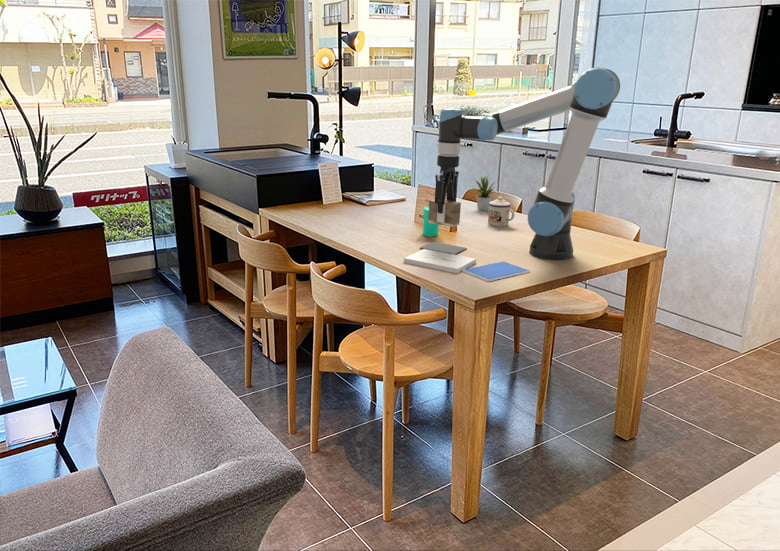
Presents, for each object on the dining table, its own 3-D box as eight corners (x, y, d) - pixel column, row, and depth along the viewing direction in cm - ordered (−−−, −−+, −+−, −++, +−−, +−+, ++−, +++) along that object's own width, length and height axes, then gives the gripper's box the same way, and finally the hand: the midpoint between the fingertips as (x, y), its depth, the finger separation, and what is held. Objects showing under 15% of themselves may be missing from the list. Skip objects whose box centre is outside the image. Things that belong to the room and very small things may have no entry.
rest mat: (466, 249, 230) (466, 247, 229) (454, 255, 221) (454, 254, 221) (432, 242, 237) (432, 241, 236) (419, 248, 228) (419, 247, 228)
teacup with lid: (482, 223, 268) (485, 196, 265) (495, 220, 275) (497, 194, 271) (506, 229, 261) (509, 201, 257) (518, 225, 267) (521, 198, 263)
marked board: (475, 263, 213) (476, 258, 213) (457, 273, 202) (457, 268, 201) (423, 253, 223) (424, 248, 223) (403, 262, 212) (403, 257, 211)
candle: (420, 233, 251) (421, 203, 247) (434, 232, 253) (435, 202, 249) (426, 236, 245) (427, 206, 242) (440, 235, 247) (442, 205, 244)
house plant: (461, 206, 302) (463, 172, 296) (487, 205, 306) (490, 171, 301) (473, 212, 289) (476, 177, 284) (501, 211, 293) (504, 176, 288)
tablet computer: (503, 264, 215) (503, 260, 215) (531, 274, 206) (531, 270, 205) (461, 273, 204) (461, 269, 204) (488, 284, 195) (489, 279, 194)
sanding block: (459, 224, 226) (460, 202, 223) (453, 227, 222) (454, 204, 219) (434, 220, 231) (435, 198, 228) (428, 222, 227) (429, 200, 224)
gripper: (450, 151, 228) (446, 214, 235) (426, 156, 213) (422, 223, 220) (469, 153, 224) (464, 217, 231) (446, 158, 209) (442, 227, 217)
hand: (444, 220), depth 226 cm, fingers closed on sanding block, 5 cm apart
